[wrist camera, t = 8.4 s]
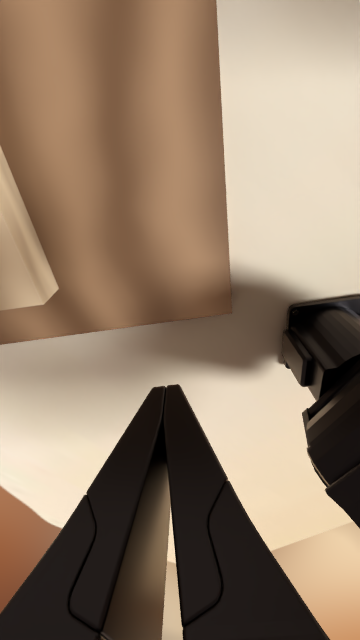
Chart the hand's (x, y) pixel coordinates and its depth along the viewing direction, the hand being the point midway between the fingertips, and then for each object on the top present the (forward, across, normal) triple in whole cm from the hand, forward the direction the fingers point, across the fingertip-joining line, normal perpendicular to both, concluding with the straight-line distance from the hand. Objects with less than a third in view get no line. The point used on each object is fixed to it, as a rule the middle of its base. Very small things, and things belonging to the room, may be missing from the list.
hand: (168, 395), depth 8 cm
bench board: (+13, +8, -5) cm, 16 cm away
